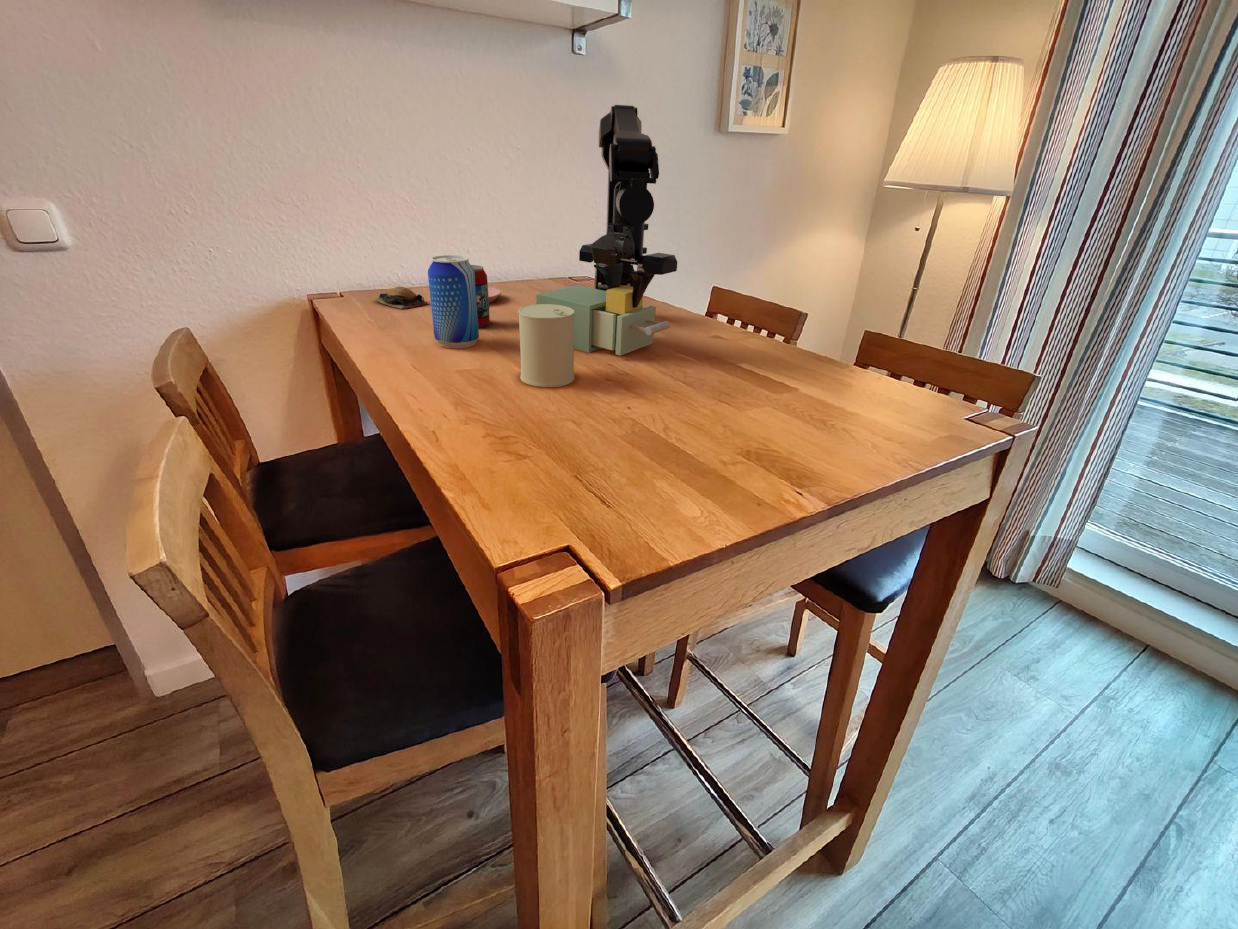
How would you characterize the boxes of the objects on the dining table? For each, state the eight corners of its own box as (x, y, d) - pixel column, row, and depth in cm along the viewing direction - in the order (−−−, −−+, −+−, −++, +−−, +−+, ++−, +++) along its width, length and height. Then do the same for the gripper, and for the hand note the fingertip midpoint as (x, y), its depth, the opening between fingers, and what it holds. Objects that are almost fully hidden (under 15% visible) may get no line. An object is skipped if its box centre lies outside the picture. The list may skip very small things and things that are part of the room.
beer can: (487, 340, 117) (482, 257, 110) (464, 352, 110) (457, 264, 103) (451, 335, 120) (443, 252, 112) (426, 345, 113) (416, 259, 105)
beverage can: (482, 329, 124) (478, 271, 118) (452, 326, 125) (447, 268, 119) (494, 322, 130) (491, 265, 124) (466, 319, 131) (461, 263, 125)
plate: (513, 299, 149) (512, 291, 148) (472, 309, 139) (472, 300, 138) (472, 290, 156) (471, 282, 155) (430, 299, 145) (429, 291, 144)
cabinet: (626, 339, 123) (628, 295, 118) (588, 352, 113) (589, 305, 109) (576, 326, 129) (576, 284, 125) (537, 338, 120) (536, 293, 116)
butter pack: (642, 309, 114) (643, 288, 112) (624, 315, 109) (625, 293, 107) (623, 305, 116) (624, 285, 114) (605, 311, 111) (606, 289, 110)
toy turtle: (372, 302, 140) (370, 286, 139) (402, 296, 147) (400, 281, 145) (400, 310, 135) (398, 293, 133) (430, 304, 141) (428, 288, 140)
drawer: (674, 348, 116) (677, 311, 112) (642, 361, 107) (645, 322, 104) (604, 330, 124) (605, 295, 121) (569, 341, 116) (569, 304, 113)
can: (552, 391, 95) (551, 317, 89) (509, 379, 99) (505, 307, 93) (585, 376, 102) (586, 307, 96) (543, 365, 106) (542, 298, 100)
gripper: (559, 214, 103) (560, 303, 111) (647, 226, 94) (641, 322, 102) (598, 211, 112) (596, 294, 119) (682, 221, 102) (674, 311, 110)
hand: (624, 305), depth 112 cm, fingers closed on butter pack, 4 cm apart
